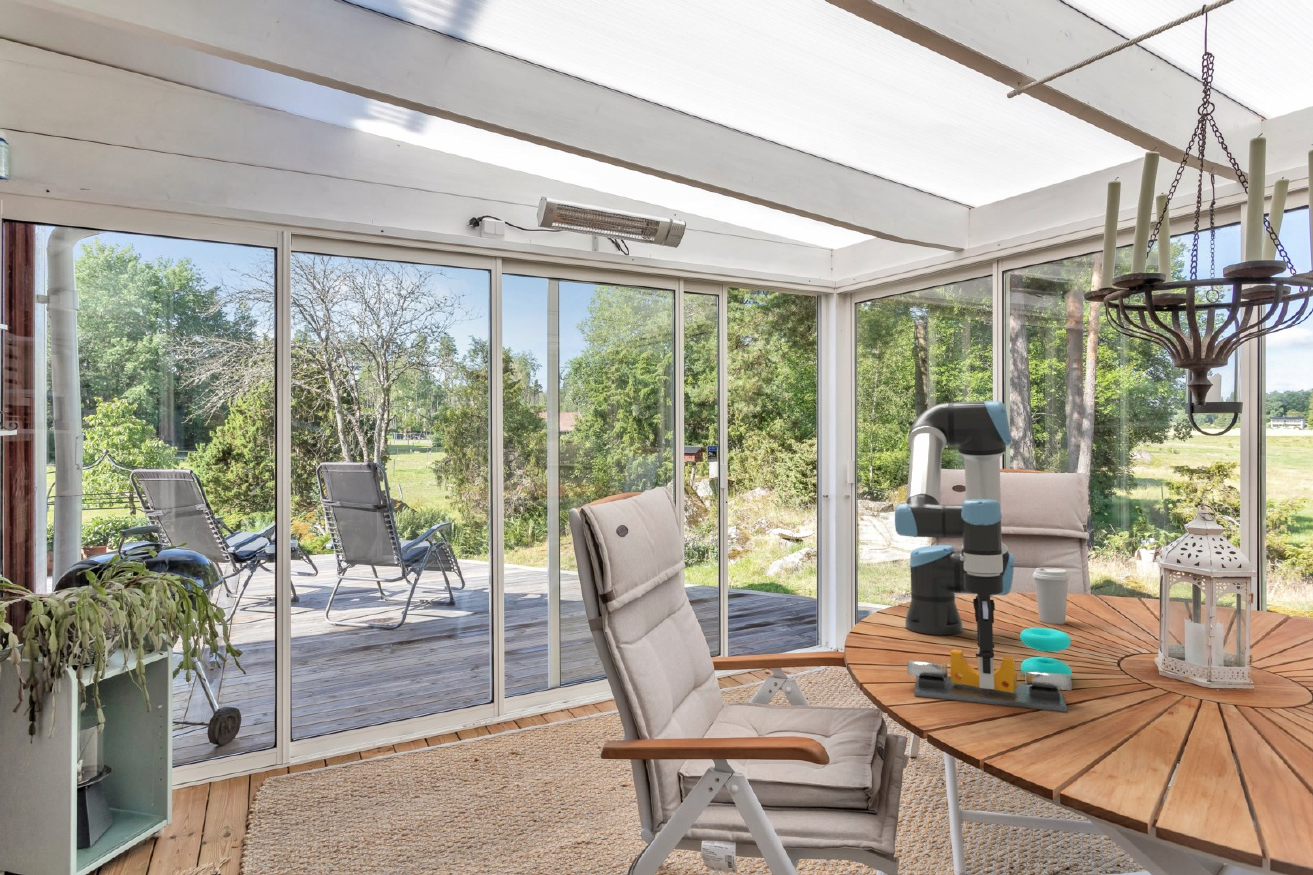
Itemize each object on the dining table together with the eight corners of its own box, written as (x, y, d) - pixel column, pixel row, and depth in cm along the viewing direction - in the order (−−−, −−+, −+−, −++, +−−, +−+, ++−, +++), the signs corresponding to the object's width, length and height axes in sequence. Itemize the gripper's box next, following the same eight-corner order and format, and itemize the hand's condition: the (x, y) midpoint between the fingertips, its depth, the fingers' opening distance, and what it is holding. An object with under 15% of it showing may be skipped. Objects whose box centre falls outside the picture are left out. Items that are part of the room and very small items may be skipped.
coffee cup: (1036, 615, 211) (1034, 566, 212) (1073, 619, 206) (1071, 568, 206) (1031, 622, 204) (1029, 571, 204) (1069, 627, 198) (1067, 573, 198)
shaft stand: (909, 677, 159) (908, 652, 159) (1066, 692, 148) (1065, 666, 148) (907, 694, 148) (906, 668, 148) (1076, 712, 136) (1075, 684, 137)
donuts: (1066, 628, 161) (1074, 639, 151) (1067, 671, 161) (1075, 686, 151) (1017, 624, 164) (1022, 635, 155) (1018, 667, 164) (1023, 681, 155)
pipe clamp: (1016, 686, 147) (1016, 655, 147) (1013, 692, 143) (1012, 661, 143) (955, 676, 154) (955, 646, 154) (951, 682, 150) (950, 651, 150)
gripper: (962, 565, 158) (965, 668, 158) (964, 579, 141) (968, 695, 141) (999, 566, 155) (1002, 672, 155) (1006, 581, 139) (1009, 700, 138)
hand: (986, 683), depth 148 cm, fingers closed on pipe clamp, 5 cm apart
